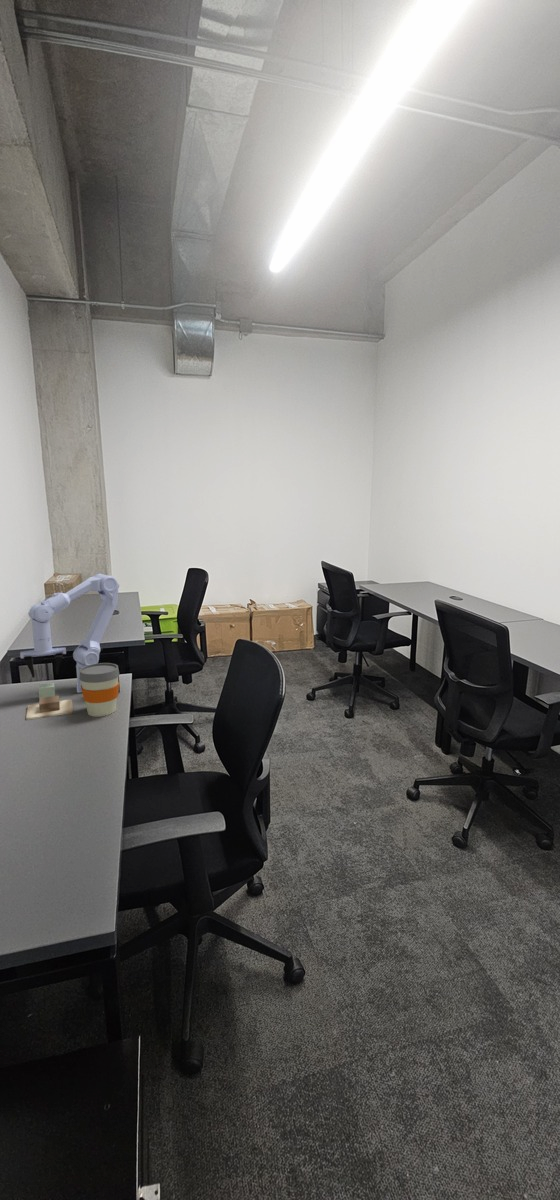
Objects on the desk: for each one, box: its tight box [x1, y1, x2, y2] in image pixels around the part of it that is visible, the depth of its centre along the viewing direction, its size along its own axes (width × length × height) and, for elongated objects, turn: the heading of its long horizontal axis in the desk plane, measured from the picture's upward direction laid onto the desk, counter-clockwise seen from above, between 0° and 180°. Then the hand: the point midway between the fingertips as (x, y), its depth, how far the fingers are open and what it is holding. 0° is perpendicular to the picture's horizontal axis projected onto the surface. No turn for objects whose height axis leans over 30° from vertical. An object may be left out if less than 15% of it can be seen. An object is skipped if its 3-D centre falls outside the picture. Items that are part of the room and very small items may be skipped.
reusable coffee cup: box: [79, 662, 120, 717], centre depth 168 cm, size 13×13×15 cm
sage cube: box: [38, 682, 56, 701], centre depth 180 cm, size 5×5×5 cm
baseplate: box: [25, 695, 74, 721], centre depth 170 cm, size 14×12×4 cm
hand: (45, 675), depth 179 cm, fingers open, 7 cm apart
